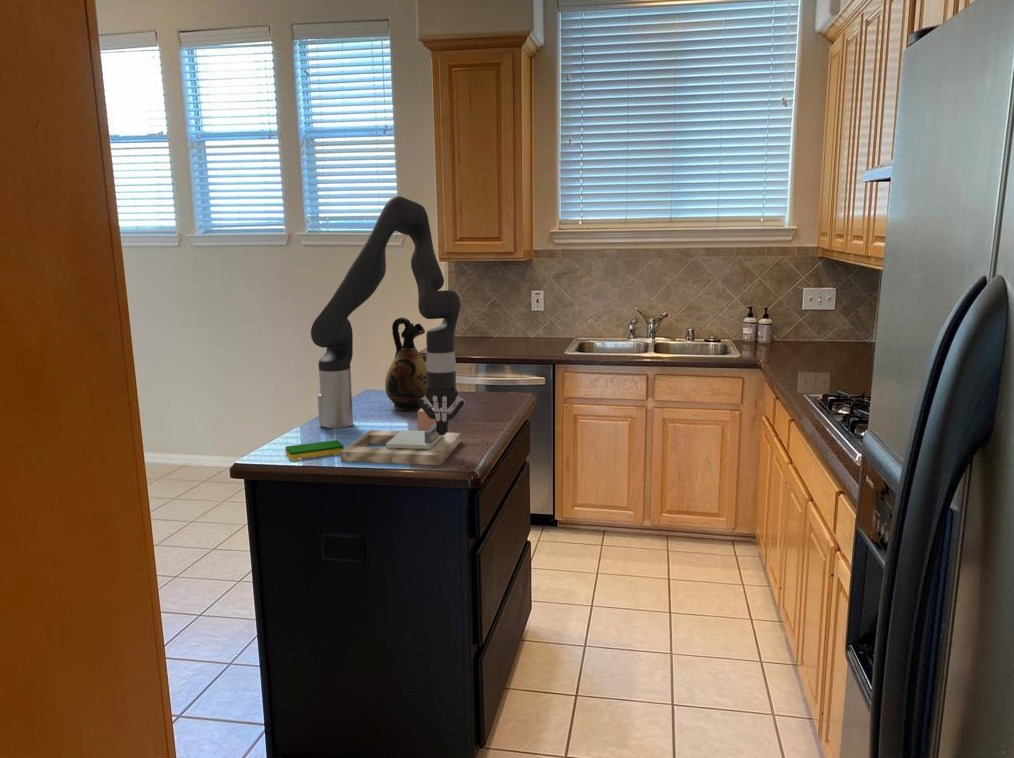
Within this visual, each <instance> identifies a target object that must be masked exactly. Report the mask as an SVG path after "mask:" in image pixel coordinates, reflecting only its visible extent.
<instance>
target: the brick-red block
mask: <svg viewBox="0 0 1014 758" xmlns="http://www.w3.org/2000/svg"><path fill="white" fill-rule="evenodd" d="M431 408H432V410H433V411H434V407H431ZM434 423H436V420H434V419H430V418H429V417H428V415H427V414H426V413H425V412H424V410H423V409H422V408H421V409H420V410H417V431H426V430H428V429H429V428H430V427H431V426H432V425H433V424H434Z"/></svg>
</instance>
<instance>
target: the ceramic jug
mask: <svg viewBox="0 0 1014 758" xmlns="http://www.w3.org/2000/svg"><path fill="white" fill-rule="evenodd" d="M400 325H404V329H403V330H402V332H401V336H400V331H399V327H400ZM391 329H392V337H393V342H394V345H395V349H396V350H395V355H394V359H393V360H392V362H391V364H390V366H389V368H388V370H387V373H386V376H385V385H384V386H385V393H386V395H387V397H388V398H389V400H390V401H391V402H392V403H393V404H394V405H393V408H394V409H395V410H397V411H402V412H411V411H412V412H415V411H416V410H417V411H419V410H420V409H421V407H420V405H419V404H418V402H417V401H418V400H419V399H421V398H423V397H424V396H425V392H426V390H427V377H426V361H425V360H424V359H423V356H422V355H421V353H419V350H418V349H417V347H416V346H415V342H414V341H415V339H416V337H419V336H421V335H424V334H425V333H426V331H425V329H424V327H423V325H422V324H420V323H418V322H417V323H416V324H414V323H413V322H412V323H411V321H410V320H409V319H408V318H405V317H398V318H396V319H395V320H394V321H393V323H392V326H391ZM401 338H402V339H403V343H402V341H401Z"/></svg>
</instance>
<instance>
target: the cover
mask: <svg viewBox="0 0 1014 758" xmlns="http://www.w3.org/2000/svg"><path fill="white" fill-rule="evenodd" d="M400 431H401V432H400V433H398V434H397V435H396V436H395V437H393V438H392V439H391V440H390V441H389V442H387V443H386V444H385V448H412V449H430V448H431V447H432V446H433V445H434V444H435V443H436V442H437V441H438V440H439V439H440V438H441V437H442V436H443V435H439V433H437V431H436V423H434V424H433V425H432V426H431V427H430V428H429V429H428V430H426V431H418V430H408V429H407V430H405V429H403V430H400Z"/></svg>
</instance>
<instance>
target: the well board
mask: <svg viewBox="0 0 1014 758" xmlns="http://www.w3.org/2000/svg"><path fill="white" fill-rule="evenodd" d="M401 431H402V430H379V429H378V430H377V429H375V430H374V429H370V430H369V431H367V432H365V433H364V434H363V435H361V436H359V437H358V438H357V439H355V440H354V441H353V442H351V443H349V444H348V445H347V446H345V447H343V448H344V449H343V450H342V451H340V454H339V455H340V462H352V461H358V463H377V464H378V463H379V464H381V463H384V464H402V463H406V464H407V465H429V466H430V465H431V466H442V464H443V463H444V462H445V461H446V460H447V459H448V457H449V456H450V455H451V454H452V453H453V452H454V451H455V450H456V448H457V447H458V446H459V445H460V444H461V443H462V432H447V433H446V434H445V435H443V436H442V437H441V438H440V439H439V440H438V441H437V442H436V443H435V444H434V445H433V446H432V447H431V448H430V449H412V448H386V447H381V446H380V447H379V446H369V445H371V444H372V445H373V444H374V445H386V443H387V442H389V441H390V440H391V439H392V438H393V437H395V436H396V435H397V434H398V433H400V432H401ZM370 443H371V444H370ZM459 443H460V444H459ZM458 444H459V445H458ZM457 445H458V446H457ZM453 450H454V451H453ZM452 451H453V452H452ZM451 452H452V453H451ZM450 453H451V454H450ZM449 454H450V455H449ZM446 458H447V459H446ZM445 459H446V460H445Z"/></svg>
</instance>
